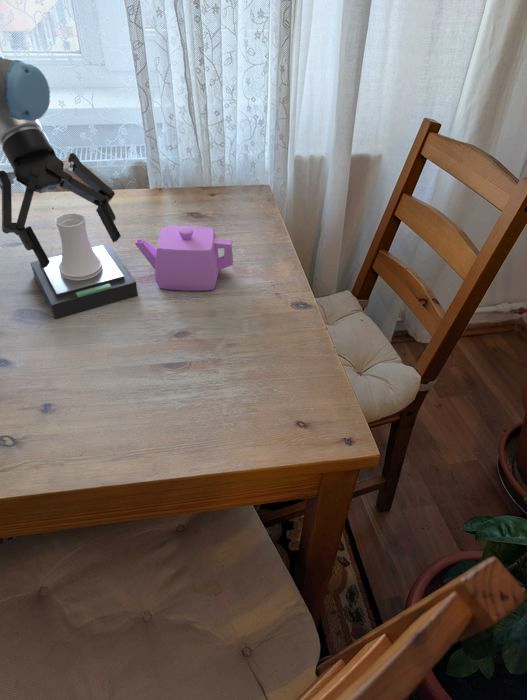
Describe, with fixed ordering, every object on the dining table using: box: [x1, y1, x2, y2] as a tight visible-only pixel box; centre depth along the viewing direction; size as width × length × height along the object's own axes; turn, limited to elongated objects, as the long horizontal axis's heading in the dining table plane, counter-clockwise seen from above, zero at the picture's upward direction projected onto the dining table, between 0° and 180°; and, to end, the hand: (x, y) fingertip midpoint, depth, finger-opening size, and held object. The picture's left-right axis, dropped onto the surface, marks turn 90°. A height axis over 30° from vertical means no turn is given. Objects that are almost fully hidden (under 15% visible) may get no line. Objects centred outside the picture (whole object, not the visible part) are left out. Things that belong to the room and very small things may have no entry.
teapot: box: [134, 225, 234, 292], centre depth 98 cm, size 18×10×10 cm, turn 91°
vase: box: [54, 212, 103, 281], centre depth 92 cm, size 8×8×10 cm
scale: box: [30, 243, 139, 320], centre depth 97 cm, size 15×15×4 cm
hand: (83, 251), depth 91 cm, fingers open, 13 cm apart
